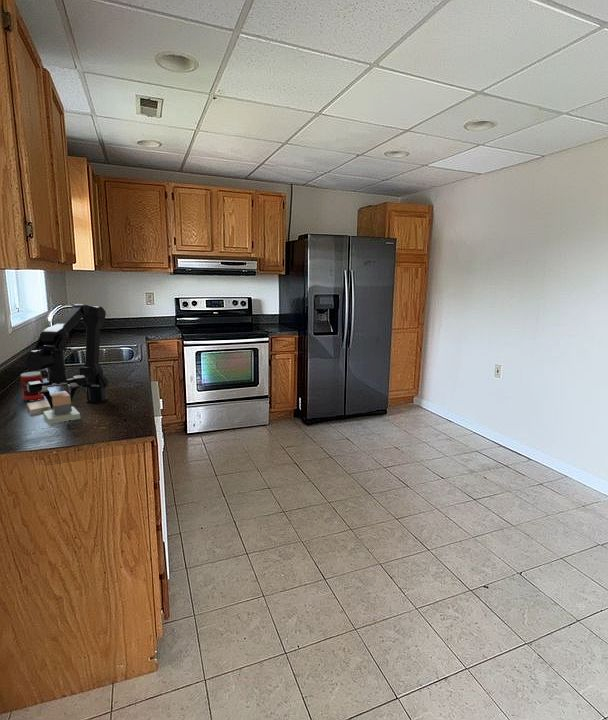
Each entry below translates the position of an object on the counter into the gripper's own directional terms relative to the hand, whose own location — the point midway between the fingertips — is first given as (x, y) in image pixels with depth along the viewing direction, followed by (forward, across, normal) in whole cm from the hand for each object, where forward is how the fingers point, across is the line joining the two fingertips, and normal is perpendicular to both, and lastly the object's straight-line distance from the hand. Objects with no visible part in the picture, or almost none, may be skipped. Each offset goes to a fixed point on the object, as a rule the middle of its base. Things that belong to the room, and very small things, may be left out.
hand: (60, 406), depth 154 cm
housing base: (+2, 0, 0) cm, 2 cm away
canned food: (+5, +4, -34) cm, 35 cm away
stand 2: (+4, 0, 0) cm, 5 cm away
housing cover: (-2, 0, 0) cm, 2 cm away
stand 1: (+4, +3, -16) cm, 16 cm away
